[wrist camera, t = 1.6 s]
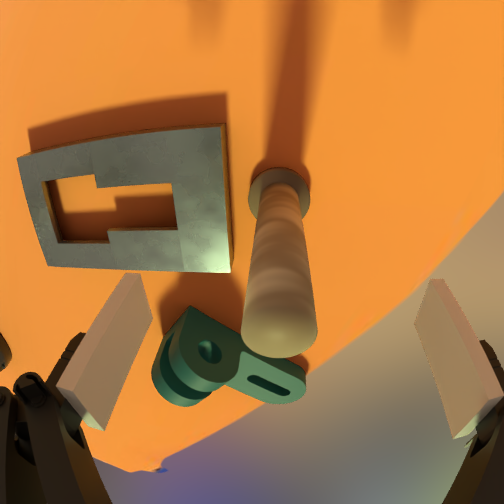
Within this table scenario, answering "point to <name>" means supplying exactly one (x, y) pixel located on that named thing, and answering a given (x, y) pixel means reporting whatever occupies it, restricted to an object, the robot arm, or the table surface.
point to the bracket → (219, 365)
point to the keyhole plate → (139, 173)
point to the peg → (279, 268)
